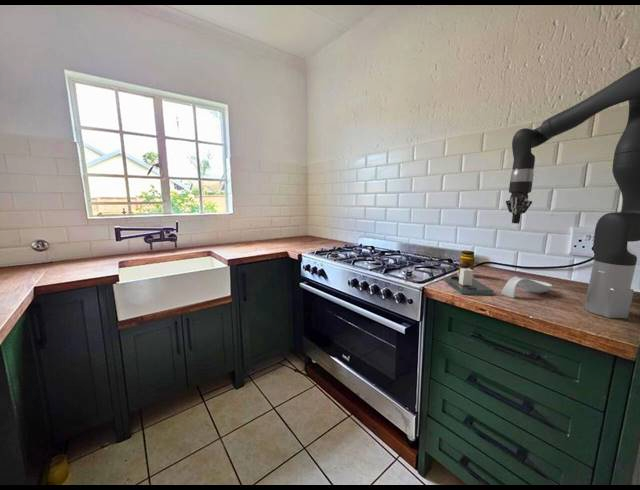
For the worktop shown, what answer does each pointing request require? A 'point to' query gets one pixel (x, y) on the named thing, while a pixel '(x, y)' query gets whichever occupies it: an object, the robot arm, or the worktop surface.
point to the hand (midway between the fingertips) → (515, 223)
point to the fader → (466, 276)
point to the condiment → (466, 261)
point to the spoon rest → (524, 286)
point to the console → (468, 287)
